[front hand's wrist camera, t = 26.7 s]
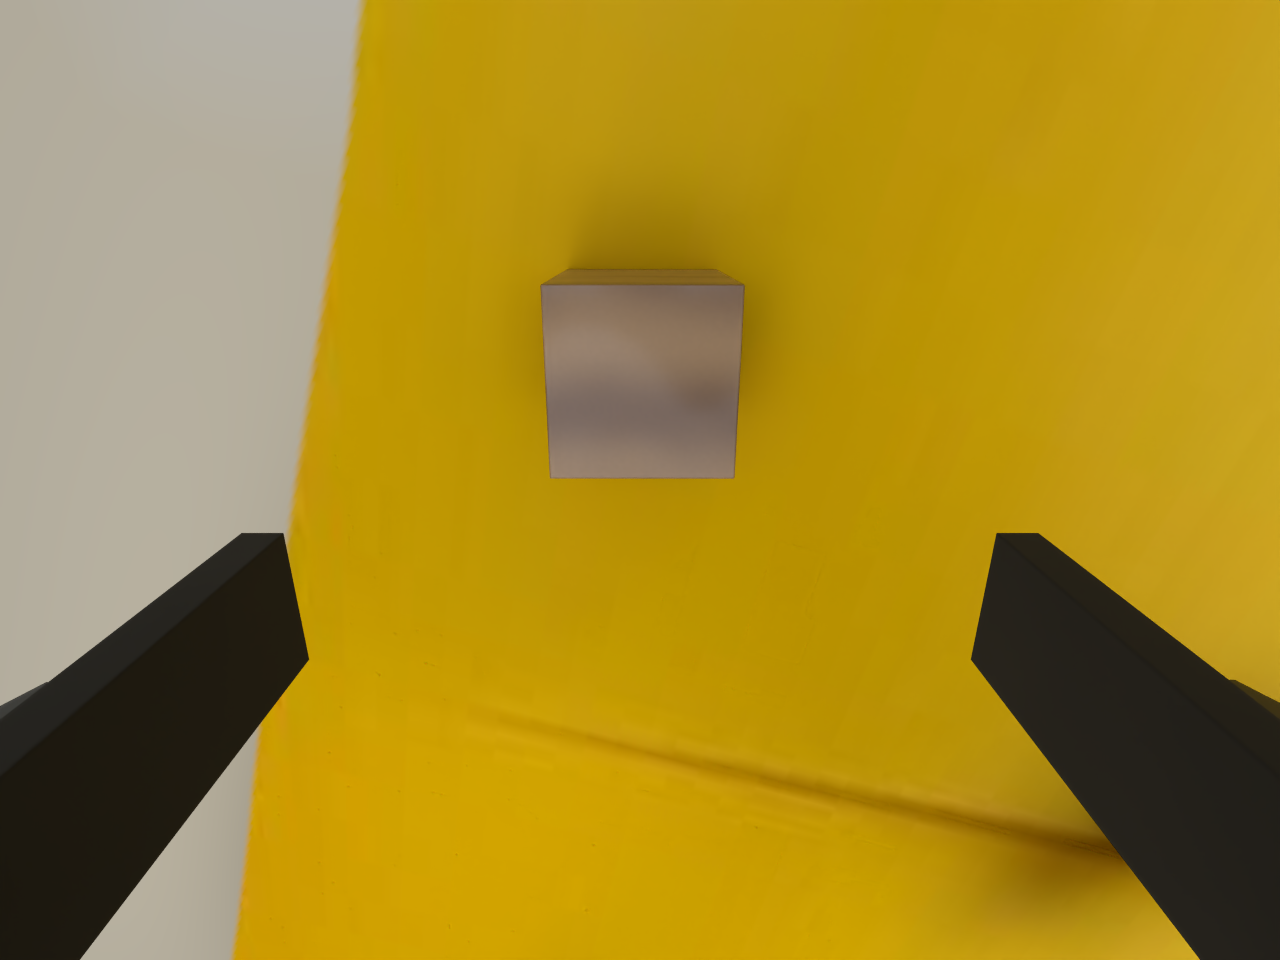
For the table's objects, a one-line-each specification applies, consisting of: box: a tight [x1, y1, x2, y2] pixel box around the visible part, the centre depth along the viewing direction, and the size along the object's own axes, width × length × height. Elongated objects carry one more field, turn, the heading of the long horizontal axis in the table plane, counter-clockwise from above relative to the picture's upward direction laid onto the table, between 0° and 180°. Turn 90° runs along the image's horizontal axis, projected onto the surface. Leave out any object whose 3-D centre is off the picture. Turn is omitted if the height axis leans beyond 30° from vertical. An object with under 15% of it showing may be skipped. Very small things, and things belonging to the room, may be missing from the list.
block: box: [541, 269, 745, 479], centre depth 35 cm, size 9×8×11 cm
